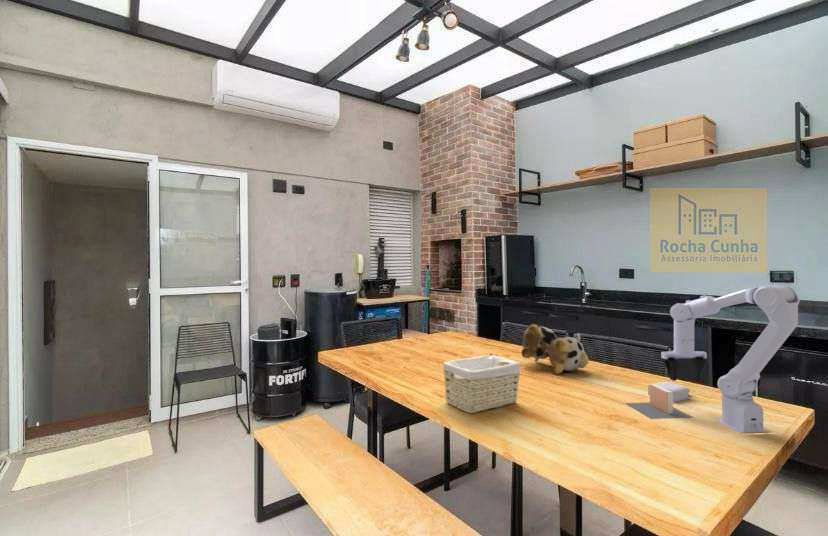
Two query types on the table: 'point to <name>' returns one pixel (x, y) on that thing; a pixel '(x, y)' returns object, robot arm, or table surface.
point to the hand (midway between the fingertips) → (683, 379)
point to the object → (481, 382)
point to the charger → (674, 390)
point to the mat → (656, 411)
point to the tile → (661, 398)
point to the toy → (554, 349)
